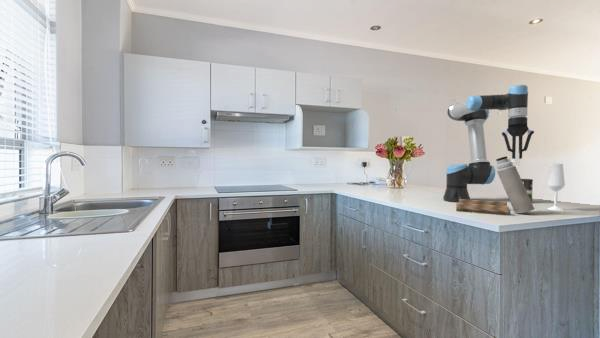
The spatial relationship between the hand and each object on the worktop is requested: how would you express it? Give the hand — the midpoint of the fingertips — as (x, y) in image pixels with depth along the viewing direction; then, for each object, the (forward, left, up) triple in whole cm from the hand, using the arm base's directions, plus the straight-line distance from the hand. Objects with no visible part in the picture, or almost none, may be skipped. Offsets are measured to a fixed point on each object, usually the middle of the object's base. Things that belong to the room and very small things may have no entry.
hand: (516, 165), depth 141 cm
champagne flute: (+2, +27, -24) cm, 36 cm away
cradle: (-12, -9, -24) cm, 28 cm away
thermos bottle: (+3, +2, -23) cm, 23 cm away
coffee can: (-21, +37, -24) cm, 49 cm away
